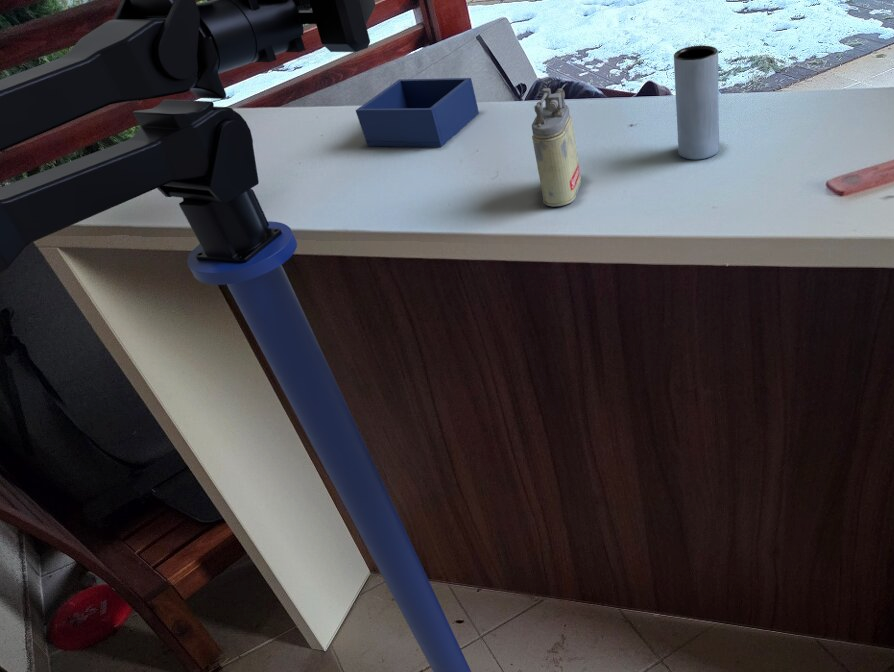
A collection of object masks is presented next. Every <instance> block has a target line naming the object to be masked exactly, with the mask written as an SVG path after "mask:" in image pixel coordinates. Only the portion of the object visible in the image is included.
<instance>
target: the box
mask: <svg viewBox="0 0 894 672" xmlns="http://www.w3.org/2000/svg"><path fill="white" fill-rule="evenodd" d="M355 114H356V116H357V119H358V122H359V125H360V128H361V131H362V134H363V138H364V140H365V143H366V146H367V147H401V148H402V147H404V148H405V147H409V148H410V147H411V148H412V147H413V148H415V147H416V148H418V147H420V148H421V147H422V148H442V147H443V146H444V145H446V143H448V142H449V141H450V140H451V139H452V138H453V137H455V135H457V134H458V133H459V132H460V131H461V130H462V129H463V128H465V127H466V126H467V125H468V124H469V123H470V122H472V121H473V120H474V118H476V117H477V116H479V114H480V111H479V106H478V102H477V98H476V93H475V89H474V84H473V80H472V78H471V77H454V78H451V77H450V78H449V77H447V78H446V77H445V78H403V79H401V78H400V79H398V80H396V81H394V83H392V84H390V85H389V86H388V87H387V88H385V89H384V90H382V91H381V92H379V93H378V94H377V95H375V96H373V97H371V99H370V100H368V101H366V102H365V103H364V104H362V105H361V106H359V107H358V108H356V109H355Z"/></svg>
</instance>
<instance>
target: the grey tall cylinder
mask: <svg viewBox="0 0 894 672" xmlns="http://www.w3.org/2000/svg"><path fill="white" fill-rule="evenodd" d="M673 68H674V70H673V71H674V87H675V88H674V90H675V108H676V109H675V110H676V111H675V112H676V127H677V130H676V131H677V148H678V149H677V150H678V154H679V156H680V157H681V158H684V159H687V160H704V159H708V158H711V157H714V156H715V155H716V154H718V153H719V151H720V98H719V96H720V95H719V93H720V92H719V88H720V87H719V50H718V49H717V48H716V47H715V46H711V45H692V46H687V47H683V48H680V49H678V50H677V51H676V52H674V54H673Z"/></svg>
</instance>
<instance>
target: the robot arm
mask: <svg viewBox="0 0 894 672" xmlns="http://www.w3.org/2000/svg"><path fill="white" fill-rule="evenodd" d="M375 8H376V0H206V1H203V2H198V3H197V1H196V0H120V3H119V5H118V7H117V10H116V12H115V14H114V16H113V17H112V19H110V20H108V21H106V22H104V23H102V24H101V25H99V26H98V27H96V28H94V29H92V30H91V31H90V32H89V33H87V34H86V35H84V36H83V37H81V38H80V39H79V40H78V41H77V42H76V43H75V45H74V46H73V47H72V49H71V50H70V51H68V52H66V53H65V54H63V55H61V56H60V57H59V58H55V59H53V60H50V61H48V62H45V63H43V64H40V65H38V66H34V67H32V68H28V69H26V70H23V71H21V72H17V73H14V74H12V75H10V76H7V77H3V78H1V79H0V152H3V151H6V150H7V149H10V148H12V147H15V146H17V145H19V144H21V143H24V142H25V141H29V140H31V139H33V138H35V137H37V136H40V135H42V134H45V133H47V132H49V131H52V130H54V129H56V128H59V127H61V126H64V125H65V124H66V125H67V124H68V123H70V122H72V121H75V120H77V119H80V118H82V117H84V116H87V115H89V114H92V113H94V112H96V111H98V110H101V109H103V108H105V107H108V106H111V105H114V104H115V105H116V104H121V103H126V102H135V101H136V102H137V101H145V100H153V99H157V98H158V99H159V98H164V97H169V96H175V95H179V94H184V93H187V92H189V91H190V93H192V94H194V95H195V96H196V97H197V98H199V99H213V100H224V99H226V97H227V93H226V89H225V87H224V85H223V82H222V80H221V77H220V74H222V73H225V72H228V71H231V70H235V69H237V68H241V67H243V66H246V65H249V64H253V63H271V62H272V63H273V62H274V61H277V60H278V59H277V56H276V55H279V54H282V53H301V52H304V51H306V47H305V43H304V40H303V36H304V33H305V31H304V30H305V29H304V25H316V29H317V33H318V36H319V39H320V43H321V45H322V46H323V47H324V48H325V49H327V50H328V51H329V52H330V53H357V52H360V51H363V50H366V49H368V48H369V46H370V43H371V39H370V35H369V31H368V28H367V27H368V26H367V24H368V23H369V20H370V17H372V16H371V15H372V14H373V11H374V10H375ZM214 105H215V104H214V102H213V101H209V100H191V99H190V100H188V99H166V98H164V99H162V100H161V102H160V103H159V104H158V105H156V106H154V107H153V108H149V109H148V108H147V109H138V110H133V111H132V115H133V116H134V118H135V120H136V121H137V123H138V124H139V126H140V127H139V128H138V129H137V131H136V132H135V134H134V135H133V136H132V137H131V138H129V139H127V140H124V141H121V142H119V143H116V144H114V145H110V146H109V147H105V148H103V149H100V150H97V151H95V152H91V153H89V154H87V155H83V156H81V157H78V158H76V159H74V160H70V161H68V162H65V163H62V164H60V165H57V166H54V167H51V168H49V169H47V170H44V171H41V172H38V173H35V174H33V175H30V176H27V177H25V178H21V179H19V180H17V181H14V182H11V183H9V184H6V185H4V186H1V187H0V275H2V274H4V272H6V271H8V269H9V268H10V267H11V266H12V265H13V264H14V262H15V261H16V260H17V259H18V257H19V256H20V254H21V253H22V252H23V251H24V250H25V248H26V247H28V246H29V245H31V244H32V243H33V242H36V241H38V240H41V239H43V238H46V237H48V236H50V235H53V234H55V233H57V232H59V231H61V230H64V229H66V228H68V227H71V226H73V225H76V224H78V223H81V222H83V221H85V220H87V219H89V218H92V217H94V216H96V215H98V214H101V213H103V212H105V211H108V210H111V209H113V208H115V207H117V206H119V205H122V204H123V203H127V202H129V201H131V200H134V199H135V198H138V197H140V196H142V195H145V194H147V193H149V192H152V191H153V190H156V189H157V190H158V191H159V192H161V194H162V195H163V196H164V197H166V198H172V197H173V198H179V199H180V198H181V199H182V200H181V201H180V202H179V203H178V205H179V207H180V209H181V211H182V213H183V215H184V216H185V218H186V220H187V222H188V224H189V226H190V228H191V229H192V231H193V233H194V235H195V237H196V239H197V241H198V243H199V244H200V245H201V246H202V248H203V250H201V251H200V252H199V253H197V254H196V255H195V257H196V258H197V260H201V261H214V262H227V263H241V264H242V263H246V262H248V261H249V260H250V259H251V258H253V257H254V256H255V255H256V254H258V253H259V252H260V251H261V250H263V249H264V248H265V247H266V246H268V245H269V244H270V243H271V242H272V241H274V240H275V239H276V238H277V237H279V236H280V235H281V234H282V232H281V229H279V228H268V226H269V223H268V219H267V216H266V215H265V212H264V210H263V208H262V206H261V204H260V201H259V199H258V197H257V195H256V193H255V190H254V189H252V188H255V187H256V186H258V185H259V181H260V180H259V175H258V168H257V163H256V161H257V160H256V156H255V150H254V149H255V148H254V139H253V135H252V132H251V128H250V126H249V125H248V123H247V121H246V120H245V119H244V117H243V116H242V115H241V114H240V113H239V112H237V111H235V110H234V109H233V108H232V107H228V106H214Z"/></svg>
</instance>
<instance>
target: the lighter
mask: <svg viewBox="0 0 894 672" xmlns="http://www.w3.org/2000/svg"><path fill="white" fill-rule="evenodd" d="M542 94H543V95H542V97H541V99H540V101H537V102H536V104H535V105H534V106H533V109H534V112H535V114H536V116H535V117H534V120H533V121H532V123H531V130H532V131H531V132H532V136H531V138H532V145H533V150H534V155H535V159H536V160H535V161H536V167H537V172H538V177H539V183H540V188H541V194H542V202H543V204H544V205H546V206H549V207H562V206H566V205H569V204H570V203H573V202H574V201H575V200H576V197H577V195H578V192H579V190H580V187H581V185H582V182H583V181H582V178H581V172H580V165H579V158H578V151H577V145H576V137H575V129H574V124H573V123H574V122H573V118H572V116H571V114H570V108H569V106H568V105H567V104H566V101H565V98H566V94H565V89H563V88H557V89H556V91H555V92H554V93H552V91H551V88H549V87H545V88H543V89H542ZM544 102H545V103H544ZM543 103H544V104H543ZM543 105H545V106H543Z"/></svg>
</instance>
